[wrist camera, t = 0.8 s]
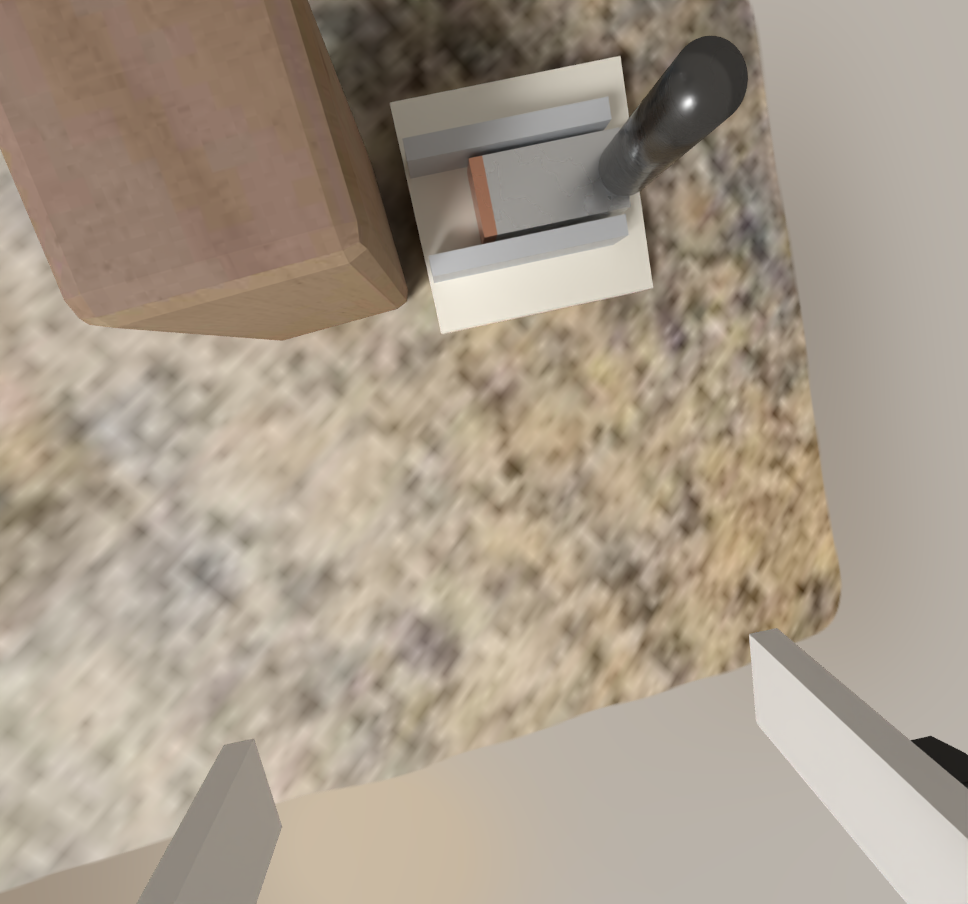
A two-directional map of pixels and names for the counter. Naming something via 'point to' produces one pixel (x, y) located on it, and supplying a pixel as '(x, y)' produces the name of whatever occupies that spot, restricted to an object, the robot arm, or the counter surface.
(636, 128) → the ram handle
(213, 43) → the wooden block
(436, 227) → the base
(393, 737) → the counter surface
